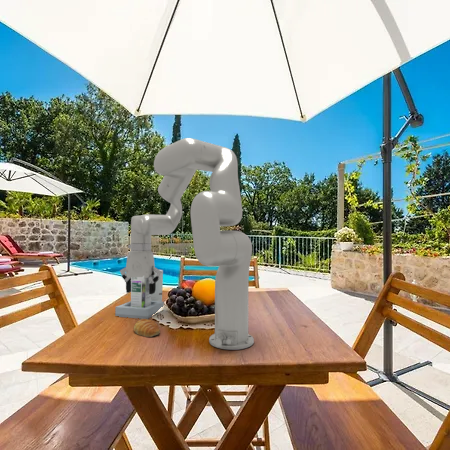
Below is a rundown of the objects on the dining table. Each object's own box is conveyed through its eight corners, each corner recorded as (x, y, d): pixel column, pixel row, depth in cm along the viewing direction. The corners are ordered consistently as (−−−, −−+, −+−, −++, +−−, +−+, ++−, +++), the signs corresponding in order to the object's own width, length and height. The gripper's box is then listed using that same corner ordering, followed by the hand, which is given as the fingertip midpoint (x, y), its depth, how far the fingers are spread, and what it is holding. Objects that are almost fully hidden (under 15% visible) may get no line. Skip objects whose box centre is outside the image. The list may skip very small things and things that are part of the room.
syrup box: (130, 312, 119) (130, 273, 119) (138, 308, 125) (138, 271, 125) (143, 313, 118) (144, 273, 118) (151, 309, 123) (151, 271, 124)
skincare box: (143, 307, 131) (144, 271, 131) (139, 304, 136) (139, 269, 136) (163, 305, 135) (163, 269, 136) (157, 302, 140) (158, 268, 141)
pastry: (165, 335, 97) (165, 322, 97) (145, 340, 92) (145, 327, 92) (150, 328, 104) (150, 316, 104) (131, 332, 99) (131, 320, 99)
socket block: (147, 319, 113) (147, 309, 113) (115, 316, 117) (115, 306, 117) (163, 310, 126) (163, 301, 126) (134, 308, 129) (134, 299, 129)
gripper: (115, 248, 120) (114, 293, 120) (157, 248, 116) (156, 296, 116) (126, 247, 128) (126, 289, 127) (166, 247, 123) (165, 292, 123)
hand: (140, 292), depth 121 cm, fingers open, 9 cm apart
